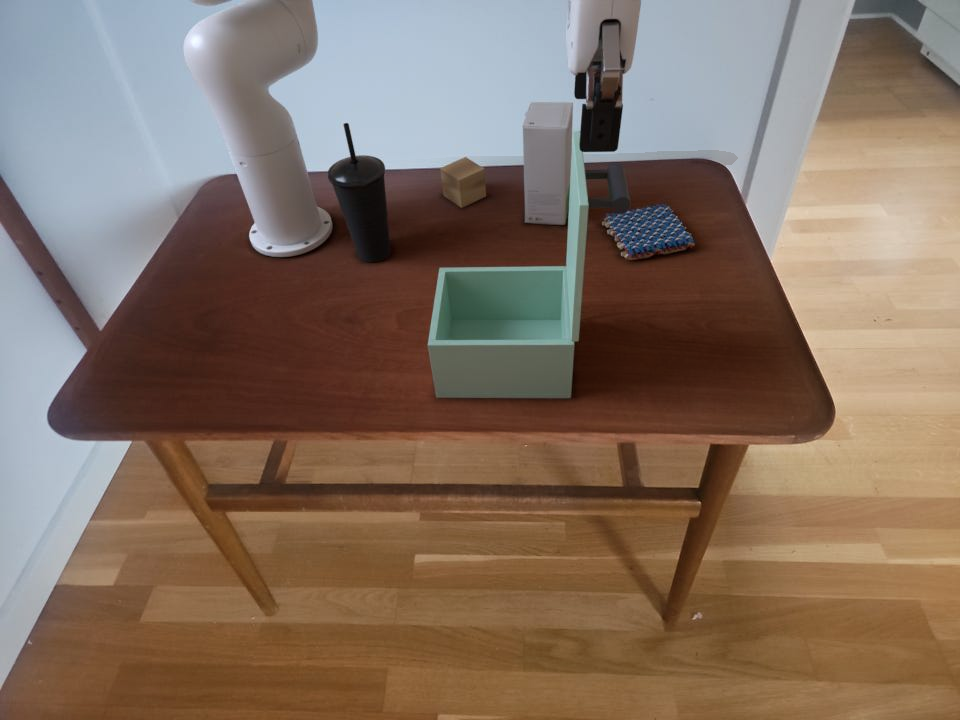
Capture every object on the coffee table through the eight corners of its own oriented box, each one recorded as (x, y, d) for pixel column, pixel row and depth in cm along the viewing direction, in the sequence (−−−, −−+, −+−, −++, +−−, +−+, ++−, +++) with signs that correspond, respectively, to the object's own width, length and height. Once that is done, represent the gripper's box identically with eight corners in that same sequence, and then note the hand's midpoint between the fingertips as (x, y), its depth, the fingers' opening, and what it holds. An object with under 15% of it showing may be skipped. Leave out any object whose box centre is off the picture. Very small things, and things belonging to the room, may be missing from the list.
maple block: (443, 195, 105) (440, 167, 101) (467, 184, 107) (465, 156, 103) (461, 208, 102) (458, 180, 98) (486, 196, 104) (484, 168, 100)
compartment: (436, 398, 75) (427, 345, 69) (446, 320, 84) (439, 267, 78) (570, 398, 74) (574, 344, 68) (566, 319, 83) (569, 265, 77)
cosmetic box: (564, 227, 97) (569, 129, 86) (521, 224, 98) (520, 127, 87) (570, 196, 103) (575, 100, 91) (529, 194, 104) (529, 99, 92)
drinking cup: (386, 273, 92) (358, 142, 77) (339, 263, 94) (304, 135, 80) (408, 242, 97) (386, 113, 82) (363, 233, 99) (334, 107, 84)
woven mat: (665, 210, 98) (667, 199, 97) (696, 251, 91) (698, 239, 90) (599, 222, 97) (600, 211, 96) (626, 265, 90) (627, 253, 88)
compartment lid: (579, 205, 55) (638, 203, 55) (572, 130, 64) (623, 129, 64) (570, 341, 67) (619, 341, 67) (566, 262, 76) (608, 262, 76)
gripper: (558, -131, 52) (550, 81, 64) (565, -71, 40) (554, 174, 53) (653, -136, 51) (626, 79, 64) (689, -75, 40) (648, 173, 52)
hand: (594, 122), depth 58 cm, fingers open, 9 cm apart
